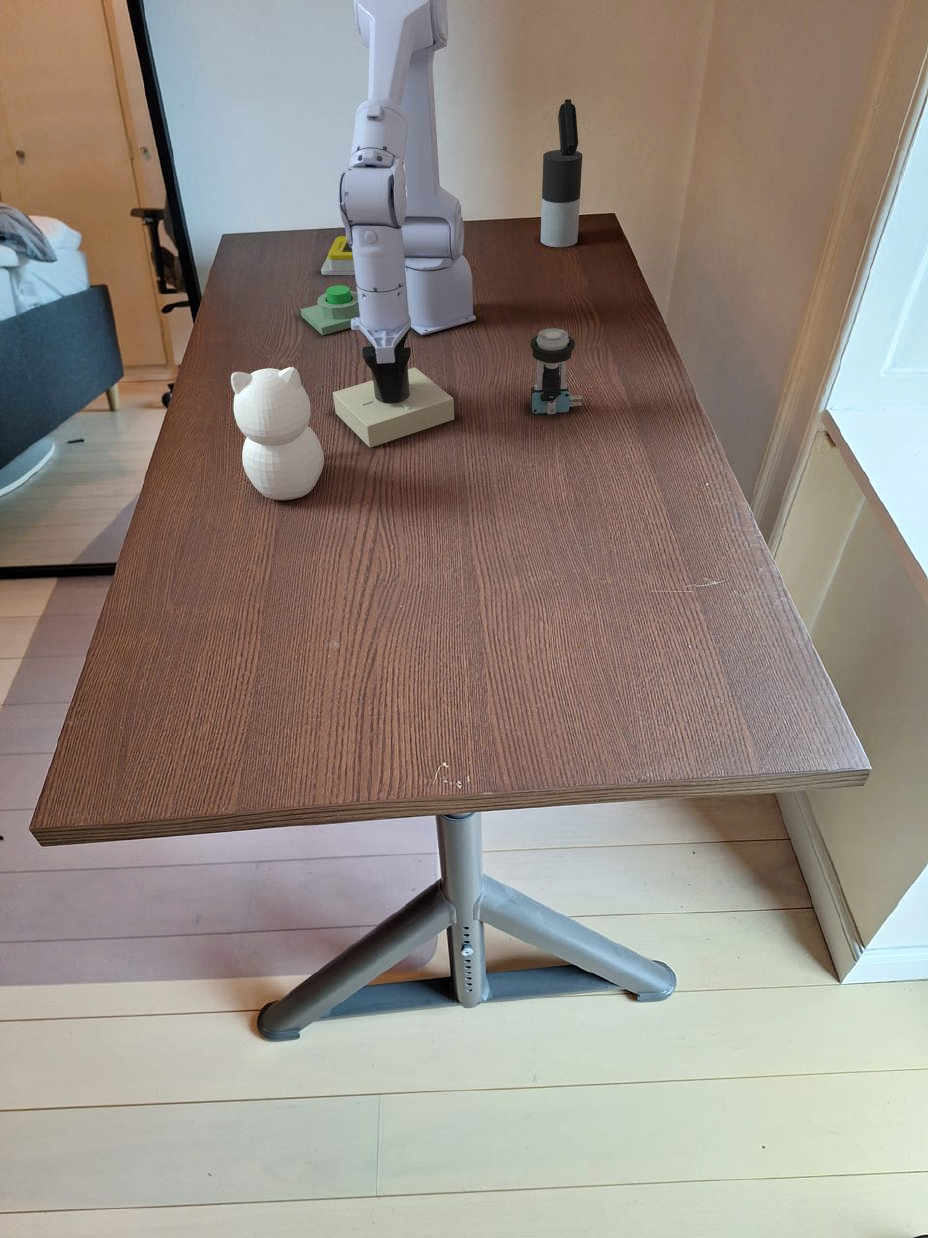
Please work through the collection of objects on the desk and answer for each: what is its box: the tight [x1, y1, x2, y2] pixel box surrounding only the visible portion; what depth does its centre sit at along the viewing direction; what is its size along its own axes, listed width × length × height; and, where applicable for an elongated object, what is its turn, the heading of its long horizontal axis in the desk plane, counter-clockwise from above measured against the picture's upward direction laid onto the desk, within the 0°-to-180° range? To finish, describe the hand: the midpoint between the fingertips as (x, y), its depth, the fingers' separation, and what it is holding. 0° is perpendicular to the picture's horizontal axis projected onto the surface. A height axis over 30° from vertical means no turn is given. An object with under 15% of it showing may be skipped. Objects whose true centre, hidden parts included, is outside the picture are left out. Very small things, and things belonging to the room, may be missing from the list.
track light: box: [540, 98, 583, 248], centre depth 144 cm, size 6×17×20 cm
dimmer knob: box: [371, 364, 410, 403], centre depth 105 cm, size 4×4×4 cm
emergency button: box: [320, 235, 355, 276], centre depth 145 cm, size 9×4×15 cm
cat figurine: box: [230, 366, 325, 501], centre depth 94 cm, size 9×12×15 cm
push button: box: [530, 327, 583, 415], centre depth 105 cm, size 7×5×10 cm
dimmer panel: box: [332, 367, 455, 449], centre depth 108 cm, size 12×10×3 cm
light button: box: [325, 284, 351, 305], centre depth 129 cm, size 4×4×2 cm
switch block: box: [300, 290, 360, 336], centre depth 130 cm, size 10×8×3 cm
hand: (391, 390), depth 106 cm, fingers closed on dimmer knob, 4 cm apart
